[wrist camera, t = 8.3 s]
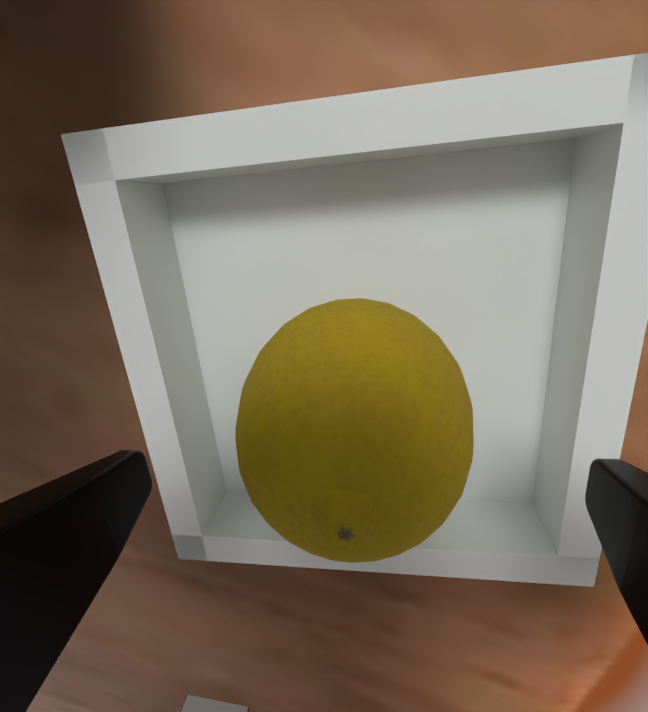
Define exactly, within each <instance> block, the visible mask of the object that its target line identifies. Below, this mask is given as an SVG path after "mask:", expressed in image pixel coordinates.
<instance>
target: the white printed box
mask: <svg viewBox="0 0 648 712" xmlns="http://www.w3.org/2000/svg"><path fill="white" fill-rule="evenodd" d="M181 712H248V707H246V706H241V705H236V704H231V703H227V702H222V701H217V700H212V699H207V698H202V697H197V696H192V695H188V697H187V699H186V701H185V704H184V706H183V709H182V711H181Z"/></svg>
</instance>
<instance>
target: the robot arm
mask: <svg viewBox="0 0 648 712" xmlns="http://www.w3.org/2000/svg"><path fill="white" fill-rule="evenodd" d="M151 488H152V480H151V476H150V473H149V469H148V465H147V462H146V458H145V455H144V454H143V452H142V451H140V450H121V451H119V452H116V453H114V454H112V455H110V456H107V457H105V458H103V459H100V460H98V461H96V462H94V463H91V464H89V465H87V466H84V467H82V468H80V469H78V470H75V471H73V472H71V473H68V474H66V475H64V476H61V477H59V478H57V479H55V480H52V481H50V482H48V483H45V484H43V485H41V486H39V487H36V488H34V489H32V490H29V491H27V492H25V493H22V494H20V495H18V496H16V497H13V498H11V499H9V500H6V501H4V502H2V503H0V712H26V710H27V709H28V707H29V705H30V704H31V702H32V700H33V699H34V697H35V695H36V694H37V692H38V690H39V689H40V687H41V686H42V684H43V682H44V681H45V679H46V677H47V676H48V674H49V672H50V671H51V669H52V667H53V666H54V664H55V662H56V661H57V659H58V657H59V656H60V654H61V652H62V651H63V649H64V647H65V646H66V644H67V642H68V641H69V639H70V637H71V636H72V634H73V632H74V631H75V629H76V628H77V626H78V624H79V623H80V621H81V619H82V618H83V616H84V614H85V613H86V611H87V609H88V608H89V606H90V604H91V603H92V601H93V599H94V598H95V596H96V594H97V593H98V591H99V589H100V588H101V586H102V584H103V583H104V581H105V579H106V578H107V576H108V574H109V573H110V571H111V570H112V568H113V566H114V564H115V563H116V561H117V559H118V557H119V555H120V554H121V552H122V550H123V548H124V546H125V544H126V542H127V540H128V538H129V536H130V533H131V531H132V529H133V527H134V525H135V523H136V521H137V519H138V517H139V515H140V513H141V511H142V509H143V507H144V505H145V503H146V501H147V499H148V496H149V494H150V492H151ZM585 503H586V508H587V511H588V513H589V516H590V518H591V521H592V523H593V526H594V528H595V531H596V533H597V536H598V538H599V541H600V543H601V546H602V548H603V551H604V553H605V556H606V558H607V561H608V563H609V566H610V568H611V571H612V573H613V576H614V578H615V581H616V583H617V585H618V588H619V590H620V592H621V594H622V596H623V598H624V600H625V602H626V604H627V606H628V608H629V610H630V612H631V614H632V616H633V618H634V620H635V622H636V624H637V625H638V627H639V629H640V631H641V633H642V635H643V637H644V639H645V641H646V642H647V644H648V473H647V472H645V471H643V470H641V469H639V468H637V467H635V466H633V465H631V464H629V463H627V462H625V461H623V460H620V459H595V460H593V461H592V463H591V465H590V470H589V475H588V481H587V487H586V493H585Z"/></svg>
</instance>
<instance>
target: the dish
mask: <svg viewBox="0 0 648 712" xmlns="http://www.w3.org/2000/svg"><path fill="white" fill-rule="evenodd" d="M61 137H62V141H63V144H64V148H65V152H66V155H67V159H68V162H69V166H70V170H71V173H72V177H73V180H74V184H75V188H76V191H77V195H78V198H79V202H80V206H81V209H82V213H83V217H84V220H85V224H86V227H87V231H88V235H89V238H90V242H91V245H92V249H93V253H94V256H95V260H96V263H97V267H98V271H99V274H100V278H101V281H102V285H103V289H104V292H105V296H106V299H107V303H108V307H109V310H110V314H111V317H112V321H113V325H114V328H115V332H116V335H117V339H118V343H119V346H120V350H121V353H122V357H123V361H124V364H125V368H126V372H127V375H128V379H129V382H130V386H131V390H132V393H133V397H134V400H135V404H136V408H137V411H138V415H139V418H140V422H141V426H142V429H143V433H144V436H145V440H146V444H147V447H148V451H149V454H150V458H151V462H152V465H153V469H154V472H155V476H156V480H157V483H158V487H159V490H160V494H161V498H162V501H163V505H164V509H165V512H166V516H167V519H168V523H169V527H170V530H171V534H172V537H173V541H174V545H175V548H176V552H177V555H178V559H186V560H201V561H216V562H231V563H246V564H261V565H276V566H290V567H305V568H320V569H335V570H350V571H365V572H380V573H395V574H410V575H425V576H439V577H454V578H469V579H484V580H499V581H514V582H529V583H544V584H559V585H574V586H588V587H594V584H595V579H596V574H597V569H598V564H599V559H600V554H601V549H602V546H601V543H600V541H599V538H598V536H597V533H596V531H595V528H594V526H593V523H592V521H591V518H590V516H589V513H588V511H587V508H586V503H585V493H586V487H587V481H588V475H589V470H590V465H591V463H592V461H593V460H595V459H620V455H621V450H622V445H623V440H624V435H625V430H626V425H627V420H628V415H629V410H630V405H631V400H632V395H633V390H634V385H635V380H636V375H637V370H638V365H639V360H640V355H641V350H642V345H643V340H644V335H645V330H646V325H647V320H648V53H643V54H636V55H629V56H621V57H614V58H607V59H600V60H593V61H585V62H578V63H571V64H564V65H557V66H549V67H542V68H535V69H528V70H520V71H513V72H506V73H499V74H492V75H484V76H477V77H470V78H463V79H456V80H448V81H441V82H434V83H427V84H420V85H412V86H405V87H398V88H391V89H383V90H376V91H369V92H362V93H355V94H347V95H340V96H333V97H326V98H319V99H311V100H304V101H297V102H290V103H282V104H275V105H268V106H261V107H254V108H246V109H239V110H232V111H225V112H218V113H210V114H203V115H196V116H189V117H182V118H174V119H167V120H160V121H153V122H145V123H138V124H131V125H124V126H117V127H109V128H102V129H95V130H88V131H81V132H73V133H66V134H61ZM356 298H364V299H370V300H375V301H380V302H386V303H390V304H392V305H394V306H396V307H398V308H400V309H402V310H404V311H406V312H409V313H411V314H413V315H415V316H416V317H417V318H418V319H420V320H421V321H422V322H423V323H424V324H426V325H427V326H428V327H429V328H430V329H432V330H433V331H434V332H435V333H436V334H437V335H438V336H439V337H440V338H441V339H442V341H443V342H444V344H445V345H446V347H447V348H448V350H449V351H450V352H451V354H452V355H453V357H454V358H455V360H456V361H457V363H458V364H459V366H460V369H461V371H462V374H463V377H464V380H465V383H466V386H467V389H468V393H469V396H470V399H471V403H472V409H473V438H474V447H473V458H472V464H471V467H470V471H469V474H468V478H467V481H466V485H465V488H464V491H463V494H462V496H461V498H460V499H459V501H458V502H457V504H456V506H455V507H454V509H453V510H452V512H451V513H450V515H449V516H448V518H447V519H446V521H445V522H444V523H443V525H442V526H440V527H439V528H438V529H437V530H436V531H435V532H434V533H433V534H431V535H430V536H429V537H428V538H427V539H426V540H424V541H423V542H421V543H420V544H418V545H417V546H415V547H413V548H411V549H409V550H407V551H405V552H403V553H402V554H400V555H397V556H393V557H390V558H386V559H382V560H379V561H373V562H359V563H349V562H340V561H332V560H329V559H325V558H322V557H319V556H316V555H313V554H310V553H308V552H306V551H304V550H302V549H301V548H299V547H297V546H295V545H293V544H291V543H290V542H288V541H287V540H286V539H285V538H283V537H282V536H281V535H280V534H279V533H278V532H276V531H275V530H274V529H273V528H272V527H271V526H270V525H269V524H268V523H267V522H266V521H265V519H264V518H263V517H262V515H261V514H260V513H259V511H258V510H257V509H256V507H255V506H254V505H253V503H252V501H251V499H250V497H249V495H248V492H247V490H246V487H245V485H244V482H243V480H242V477H241V475H240V471H239V466H238V458H237V450H236V441H235V428H236V421H237V415H238V409H239V403H240V397H241V392H242V388H243V385H244V382H245V380H246V378H247V376H248V374H249V372H250V370H251V368H252V366H253V364H254V362H255V360H256V358H257V356H258V354H259V352H260V350H261V349H262V348H263V347H264V345H265V344H266V343H267V342H268V341H269V340H270V339H271V338H272V337H273V335H274V334H275V333H276V332H277V331H278V330H279V329H280V328H281V327H282V326H283V325H284V324H285V323H287V322H288V321H290V320H291V319H293V318H294V317H296V316H298V315H299V314H301V313H302V312H304V311H305V310H307V309H309V308H311V307H314V306H317V305H321V304H324V303H327V302H330V301H333V300H339V299H356Z"/></svg>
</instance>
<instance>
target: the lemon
mask: <svg viewBox="0 0 648 712" xmlns="http://www.w3.org/2000/svg"><path fill="white" fill-rule="evenodd" d="M235 441H236V450H237V458H238V466H239V471H240V475H241V477H242V480H243V482H244V485H245V487H246V490H247V492H248V495H249V497H250V499H251V501H252V503H253V505H254V506H255V507H256V509H257V510H258V511H259V513H260V514H261V515H262V517H263V518H264V519H265V521H266V522H267V523H268V524H269V525H270V526H271V527H272V528H273V529H274V530H275V531H276V532H278V533H279V534H280V535H281V536H282V537H283V538H285V539H286V540H287V541H288V542H290V543H291V544H293V545H295V546H297V547H299V548H301V549H302V550H304V551H306V552H308V553H310V554H313V555H316V556H319V557H322V558H325V559H329V560H332V561H340V562H349V563H359V562H373V561H379V560H382V559H386V558H390V557H393V556H397V555H400V554H402V553H403V552H405V551H407V550H409V549H411V548H413V547H415V546H417V545H418V544H420V543H421V542H423V541H424V540H426V539H427V538H428V537H429V536H430V535H431V534H433V533H434V532H435V531H436V530H437V529H438V528H439V527H440V526H442V525H443V523H444V522H445V521H446V519H447V518H448V516H449V515H450V513H451V512H452V510H453V509H454V507H455V506H456V504H457V502H458V501H459V499H460V498H461V496H462V494H463V491H464V488H465V485H466V481H467V478H468V474H469V471H470V467H471V464H472V458H473V447H474V438H473V409H472V403H471V399H470V396H469V393H468V389H467V386H466V383H465V380H464V377H463V374H462V371H461V369H460V366H459V364H458V363H457V361H456V360H455V358H454V357H453V355H452V354H451V352H450V351H449V350H448V348H447V347H446V345H445V344H444V342H443V341H442V339H441V338H440V337H439V336H438V335H437V334H436V333H435V332H434V331H433V330H432V329H430V328H429V327H428V326H427V325H426V324H424V323H423V322H422V321H421V320H420V319H418V318H417V317H416V316H415V315H413V314H411V313H409V312H406V311H404V310H402V309H400V308H398V307H396V306H394V305H392V304H390V303H386V302H380V301H375V300H370V299H364V298H356V299H339V300H333V301H330V302H327V303H324V304H321V305H317V306H314V307H311V308H309V309H307V310H305V311H304V312H302V313H301V314H299V315H298V316H296V317H294V318H293V319H291V320H290V321H288V322H287V323H285V324H284V325H283V326H282V327H281V328H280V329H279V330H278V331H277V332H276V333H275V334H274V335H273V337H272V338H271V339H270V340H269V341H268V342H267V343H266V344H265V345H264V347H263V348H262V349H261V350H260V352H259V354H258V356H257V358H256V360H255V362H254V364H253V366H252V368H251V370H250V372H249V374H248V376H247V378H246V380H245V382H244V385H243V388H242V392H241V397H240V403H239V409H238V415H237V421H236V428H235Z"/></svg>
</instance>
